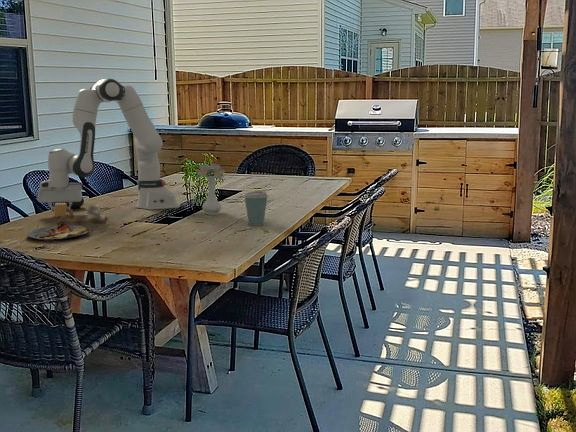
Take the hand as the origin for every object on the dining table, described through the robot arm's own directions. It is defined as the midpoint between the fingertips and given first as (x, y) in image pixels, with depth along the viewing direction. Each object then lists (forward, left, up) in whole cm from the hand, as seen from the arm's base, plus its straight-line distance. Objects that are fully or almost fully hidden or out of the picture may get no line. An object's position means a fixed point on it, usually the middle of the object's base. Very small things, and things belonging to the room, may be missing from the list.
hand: (60, 211), depth 315 cm
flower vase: (-72, +7, -2) cm, 72 cm away
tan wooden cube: (0, 0, -2) cm, 2 cm away
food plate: (-6, +47, -3) cm, 47 cm away
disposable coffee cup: (-90, +37, -2) cm, 97 cm away
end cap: (-3, -18, -2) cm, 18 cm away
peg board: (-12, +16, -2) cm, 20 cm away
